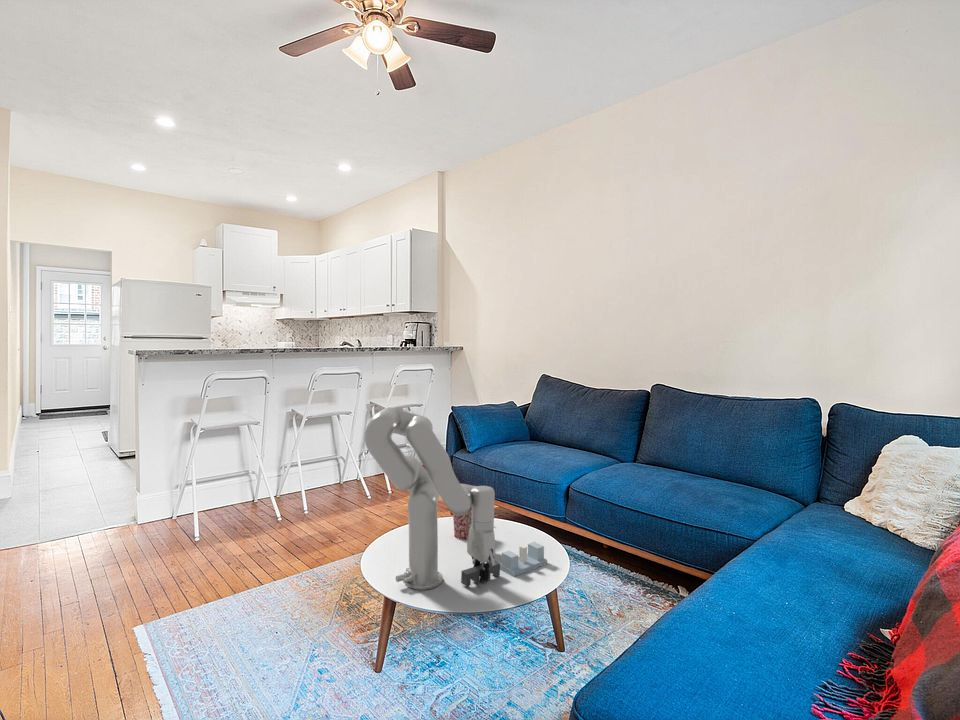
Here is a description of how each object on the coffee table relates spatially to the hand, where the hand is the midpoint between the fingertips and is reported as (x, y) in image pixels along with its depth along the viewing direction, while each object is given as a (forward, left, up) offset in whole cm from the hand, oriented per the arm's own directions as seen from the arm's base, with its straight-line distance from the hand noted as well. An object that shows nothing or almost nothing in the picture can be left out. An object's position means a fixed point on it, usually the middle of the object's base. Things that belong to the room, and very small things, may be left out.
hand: (480, 577), depth 167 cm
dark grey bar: (0, 0, 0) cm, 0 cm away
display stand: (+19, 0, -1) cm, 19 cm away
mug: (+19, +34, -1) cm, 38 cm away
